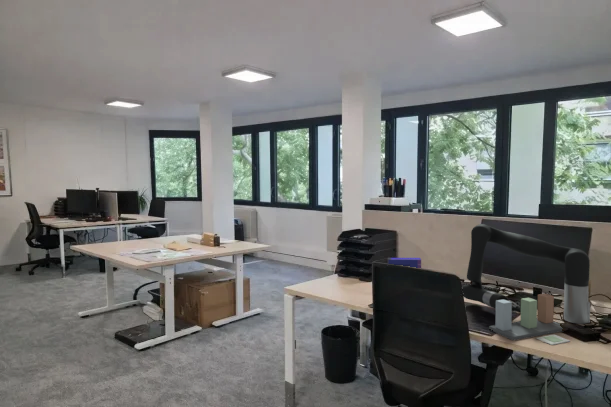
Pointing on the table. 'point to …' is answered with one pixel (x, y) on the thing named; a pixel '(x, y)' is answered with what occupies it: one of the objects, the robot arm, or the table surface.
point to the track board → (528, 330)
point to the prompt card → (553, 339)
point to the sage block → (528, 313)
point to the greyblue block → (503, 314)
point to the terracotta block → (545, 308)
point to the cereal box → (406, 262)
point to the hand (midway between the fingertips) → (524, 311)
